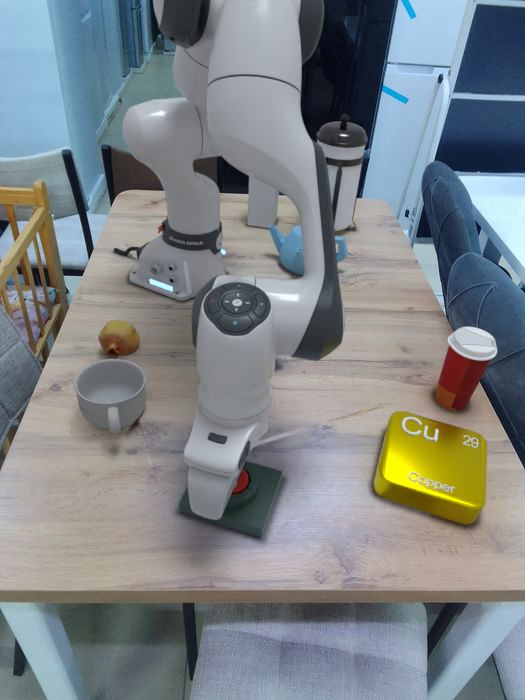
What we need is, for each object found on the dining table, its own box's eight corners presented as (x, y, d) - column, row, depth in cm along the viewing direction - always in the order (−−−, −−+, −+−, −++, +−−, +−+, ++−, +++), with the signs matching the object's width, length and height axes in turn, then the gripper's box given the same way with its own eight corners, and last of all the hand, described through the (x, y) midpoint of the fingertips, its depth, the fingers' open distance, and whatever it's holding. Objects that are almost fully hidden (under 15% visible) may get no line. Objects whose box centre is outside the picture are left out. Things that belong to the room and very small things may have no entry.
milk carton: (272, 229, 139) (277, 159, 127) (247, 225, 140) (249, 156, 128) (276, 218, 145) (281, 151, 133) (252, 215, 146) (255, 147, 133)
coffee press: (300, 213, 148) (312, 102, 129) (355, 218, 147) (375, 108, 128) (295, 240, 135) (307, 122, 116) (355, 247, 134) (377, 128, 115)
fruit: (103, 309, 97) (85, 341, 89) (136, 305, 96) (121, 336, 88) (116, 338, 101) (100, 370, 93) (148, 334, 100) (135, 366, 92)
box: (179, 512, 71) (178, 495, 68) (207, 458, 78) (206, 441, 76) (261, 538, 68) (262, 522, 66) (281, 480, 76) (283, 463, 73)
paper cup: (472, 391, 93) (499, 331, 84) (472, 420, 87) (500, 359, 78) (429, 380, 95) (451, 320, 86) (426, 408, 89) (448, 346, 80)
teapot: (292, 285, 118) (297, 244, 111) (265, 255, 128) (267, 215, 121) (347, 273, 123) (355, 233, 116) (317, 245, 133) (322, 207, 126)
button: (212, 493, 70) (212, 486, 69) (223, 469, 74) (223, 461, 73) (242, 502, 70) (242, 495, 68) (252, 477, 73) (252, 470, 72)
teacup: (89, 391, 88) (81, 357, 83) (152, 390, 89) (148, 355, 84) (73, 456, 77) (62, 420, 72) (145, 453, 78) (139, 418, 73)
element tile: (370, 495, 74) (376, 475, 71) (387, 424, 85) (393, 404, 82) (475, 530, 71) (487, 510, 68) (479, 451, 82) (489, 432, 79)
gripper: (239, 352, 70) (237, 420, 79) (175, 465, 55) (182, 534, 64) (282, 363, 69) (275, 430, 78) (230, 482, 54) (229, 549, 62)
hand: (233, 478), depth 70 cm, fingers closed, pressing on button
